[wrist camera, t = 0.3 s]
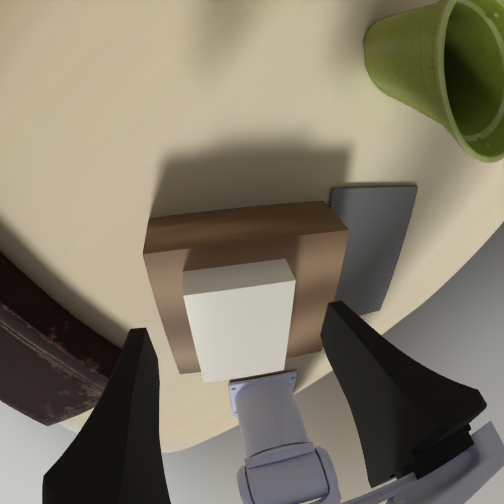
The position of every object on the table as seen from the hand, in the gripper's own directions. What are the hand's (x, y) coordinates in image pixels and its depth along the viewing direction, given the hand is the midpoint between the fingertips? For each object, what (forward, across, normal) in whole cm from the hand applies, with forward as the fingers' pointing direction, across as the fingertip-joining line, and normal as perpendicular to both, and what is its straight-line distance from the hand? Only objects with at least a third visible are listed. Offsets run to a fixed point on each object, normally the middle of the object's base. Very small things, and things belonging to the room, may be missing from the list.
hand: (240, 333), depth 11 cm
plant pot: (+10, -13, -11) cm, 20 cm away
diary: (+11, +23, +8) cm, 27 cm away
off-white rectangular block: (+6, -1, +6) cm, 8 cm away
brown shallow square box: (+10, -2, +6) cm, 12 cm away
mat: (+10, -12, +6) cm, 17 cm away
